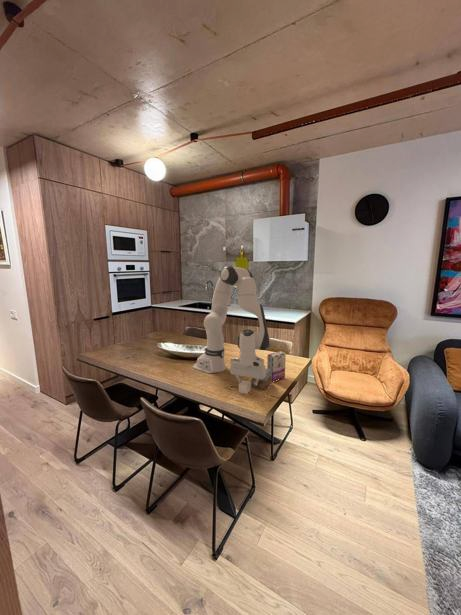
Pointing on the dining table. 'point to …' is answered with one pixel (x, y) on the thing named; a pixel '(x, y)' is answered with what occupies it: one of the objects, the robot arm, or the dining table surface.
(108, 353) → the dining table surface
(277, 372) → the candy bar box
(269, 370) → the grey square block
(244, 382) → the cream cube
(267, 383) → the tan wooden block
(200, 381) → the dining table surface
